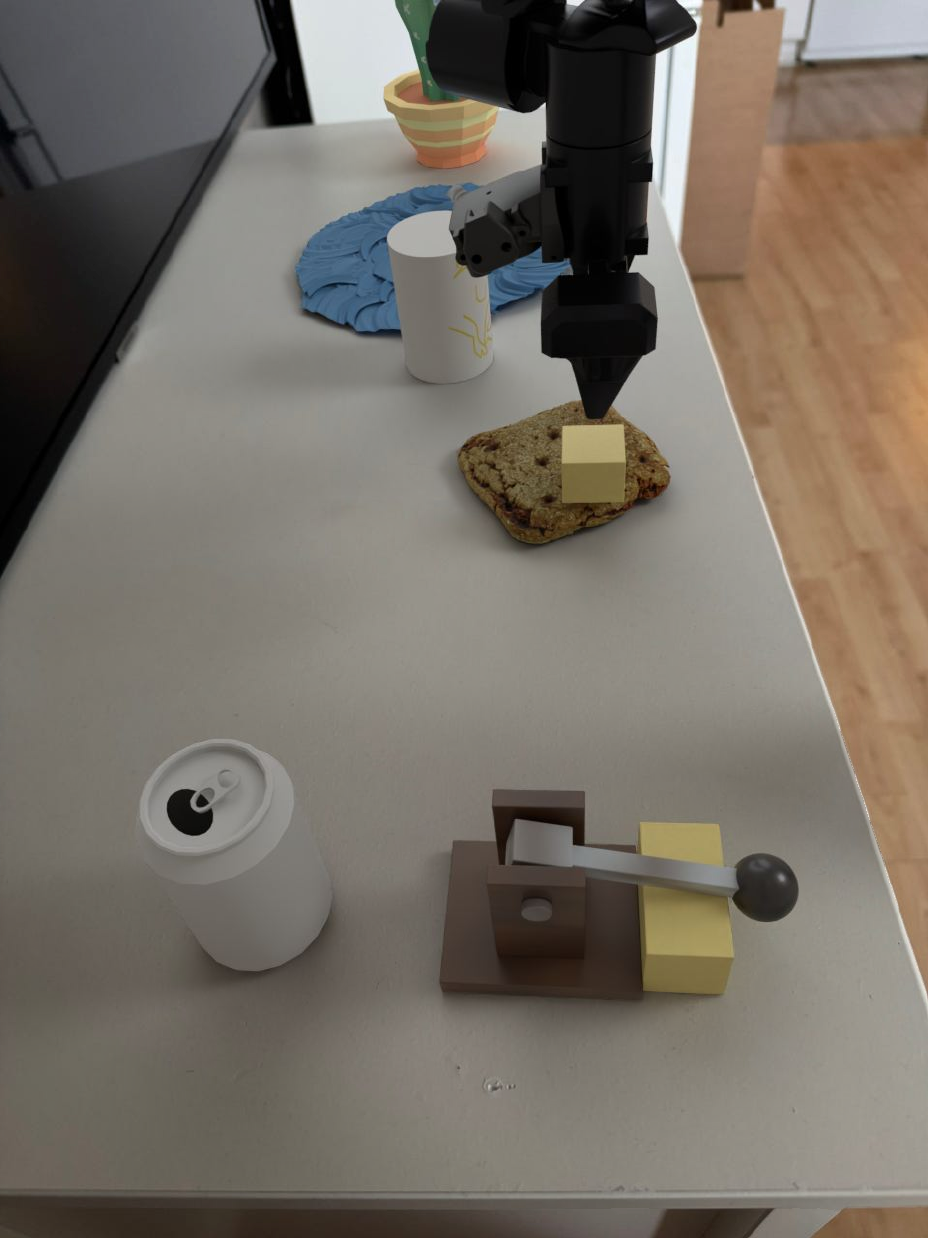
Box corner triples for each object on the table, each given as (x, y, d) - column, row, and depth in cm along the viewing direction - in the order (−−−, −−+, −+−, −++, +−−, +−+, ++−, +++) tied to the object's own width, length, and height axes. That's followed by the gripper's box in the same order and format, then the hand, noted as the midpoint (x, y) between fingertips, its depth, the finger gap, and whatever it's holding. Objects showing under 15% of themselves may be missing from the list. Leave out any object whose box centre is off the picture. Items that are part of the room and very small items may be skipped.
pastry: (694, 429, 78) (697, 398, 75) (638, 572, 67) (641, 541, 65) (496, 398, 83) (494, 368, 81) (416, 526, 73) (411, 495, 70)
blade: (778, 876, 48) (803, 846, 46) (787, 937, 46) (814, 908, 43) (505, 837, 47) (516, 804, 45) (501, 897, 45) (513, 866, 43)
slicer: (635, 855, 52) (643, 765, 46) (641, 1001, 47) (652, 922, 40) (455, 850, 53) (438, 761, 47) (441, 992, 48) (420, 914, 42)
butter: (710, 865, 52) (719, 823, 48) (723, 995, 47) (734, 957, 44) (635, 863, 52) (639, 821, 49) (641, 991, 47) (646, 954, 44)
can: (175, 906, 53) (94, 788, 44) (287, 825, 56) (233, 698, 47) (244, 1008, 48) (170, 900, 40) (362, 914, 51) (318, 794, 43)
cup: (480, 387, 85) (468, 259, 76) (394, 379, 87) (373, 254, 78) (503, 337, 90) (494, 212, 81) (421, 331, 92) (404, 208, 83)
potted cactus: (376, 179, 117) (338, -65, 99) (408, 129, 127) (380, -100, 109) (498, 179, 114) (483, -73, 96) (522, 128, 124) (512, -109, 106)
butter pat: (622, 463, 71) (623, 423, 68) (623, 502, 68) (625, 462, 65) (562, 464, 71) (562, 425, 69) (561, 503, 68) (561, 463, 66)
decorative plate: (546, 358, 89) (545, 308, 85) (254, 334, 96) (240, 287, 92) (599, 205, 107) (601, 158, 103) (350, 194, 114) (342, 150, 110)
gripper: (464, 77, 59) (482, 308, 70) (434, 212, 46) (461, 467, 58) (647, 65, 57) (635, 302, 69) (667, 201, 45) (648, 464, 56)
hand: (594, 376), depth 63 cm, fingers open, 9 cm apart
